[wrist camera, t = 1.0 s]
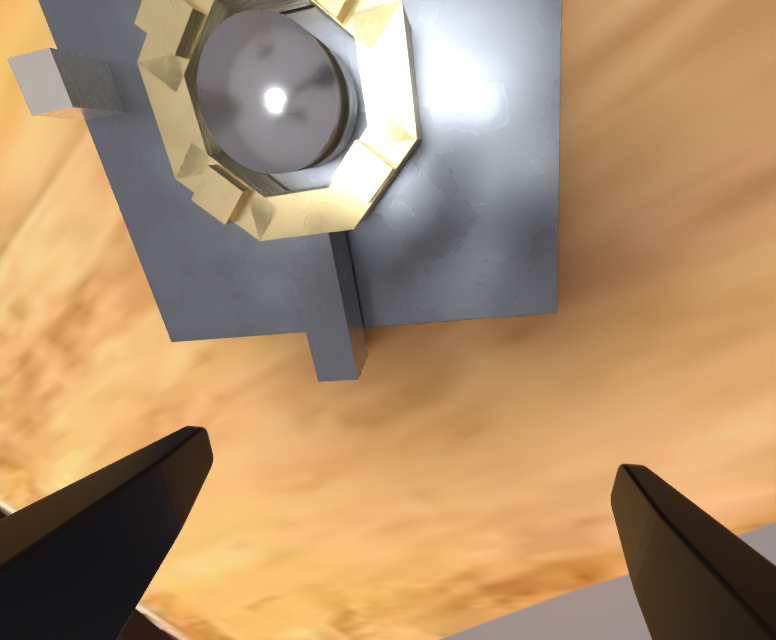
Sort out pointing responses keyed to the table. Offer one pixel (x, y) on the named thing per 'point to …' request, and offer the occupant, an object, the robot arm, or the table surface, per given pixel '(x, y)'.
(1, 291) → the table surface
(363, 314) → the cap plate
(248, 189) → the ring nut
